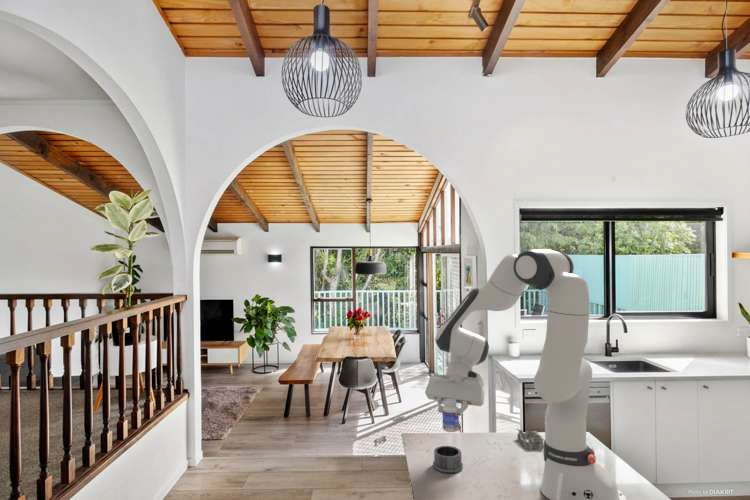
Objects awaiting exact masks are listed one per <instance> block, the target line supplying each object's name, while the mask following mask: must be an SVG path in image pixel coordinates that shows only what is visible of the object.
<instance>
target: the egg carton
mask: <svg viewBox="0 0 750 500" xmlns="http://www.w3.org/2000/svg"><path fill="white" fill-rule="evenodd" d="M516 430H517V431H518V433H517V437H516V438H517V441H520V444H522V445H524V448H525V449H528V450H533V449H538V450H542V449H543V444H544V440H545V439H544V438H543V437H542V435H541V434H539V432H538V430H530V431H527V430H526V431H525V432H523V430H522V429H518V428H516Z"/></svg>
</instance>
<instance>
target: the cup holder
mask: <svg viewBox="0 0 750 500" xmlns="http://www.w3.org/2000/svg"><path fill="white" fill-rule="evenodd" d="M461 451H462V450H461V449H460V448H457V447H456V446H451V445H441V446H438V447H436V448H435V449H434V450H433V457H434V458H433V459H434V460H433V461H432V467H433V469H434V470H435V471H436V472H439V473H441V474H447V475H454V474H458V473H460V472H462V471H463V469H464V467H463V462H462V452H461Z"/></svg>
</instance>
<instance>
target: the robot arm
mask: <svg viewBox="0 0 750 500" xmlns="http://www.w3.org/2000/svg"><path fill="white" fill-rule="evenodd" d="M528 285H529V286H531V287H533V288H535V289H538V290H539V291H542V290H543V291H544V290H545V291H546V292H547V296H548V303H547V304H548V305H547V318H546V320H547V321H546V333H545V340H544V343H543V349H542V351H541V356H540V360H539V365H538V369H537V371H536V374H535V375H534V377H533V378H534V379H533V386H534V389H535V392H536V393H537V395H538V396H539V397H540V398H542V399H543V400H544V401H546V402H547V407H546V409H545V413H544V436H545V437H544V438H545V439H544V440H543V448H542V449H543V460H544V468H543V476H542V479H541V484H540V487H539V488H540V489H539V490H540V492H541V493H542V494H543V495H544V497H546V498H547V499H549V500H627V497H626V495H625V494H624V493H623V492H622V491H621V490H619V489H618V486H617V482H616V480H615V478H614V476H613V475H612V473H610V471H609V470H606V469H605V468H604V467H603V466H602V465H601V464H599V463H598V462H597V457H596V455H595V451H594V447H593V446H591V447H590V446H589V445H587V415H588V413H587V412H588V407H589V401H590V400H589V399H590V390H591V381H592V377H593V369H592V367H591V365H590V362H588V360H586V359H585V358H584V353H585V349H586V346H587V344H588V340H589V339H588V338H589V322H590V321H589V319H590V296H589V295H590V294H589V286H588V283H587V281H586V280H585V278H584V277H582V276H580V275H578V274H575V273H574V263H573V260H572V258H571V257H570V256H569V255H568V254H567V253H565V252H563V251H560V250H553V249H549V248H537V249H536V248H533V249H532V248H530V249H526V250H524V251H522V252H520V253H519V254H515V253H511V254H507V255H506V256H504V257H503V259H502V260H501V261H500V262H499V263H498V264H497V266H496V268H495V269H494V270H493V272H492V274H491V275H490V277H489V279H488V281H487V282H486V283H485V284H483V285H482V286H480V287H477V288H473V289H471V290H470V291H469V292H468V294H467V295H466V296H465V297H464V298H463V300H462V301H461V302H460V303H459V304H458V306H457V307H456V308H455V310H453V313H451V315H450V316H449V318H448V319H447V320H446V321H445V322H444V323H442V325H441V326H440V328H439V329H438V330H437V332H436V335H435V339H434V340H435V343H436V345H437V347H438V349H439V350H440V351H442V352H446V353H450V361H449V363H448V365H447V368H446V372H445V374H438V373H435V374H433V375H431V376H429V379H428V383H427V385H426V389H425V391H424V393H425V396H426V397H427V399H428V400H431V401H432V400H433V401H436V402H437V405H438V406H437V412H438V413H442V408H443V406H444V405H442V404H443V403H444V400H445V399H455V400H456V404H460V405H462V406H461V407H458V411H457V414H458V415H459V417H460V416H461V417H463V415H464V412H465V411H466V410H467V409H468V408H469V406H476V407H482V406H483V405H484V403H485V389H484V384H485V383H484V380H483V377H482V375H481V374H480V373H479V372H476V371H473V367H474V366H479V365H480V364H482V363H484V362H485V361H486V359H487V357H488V354H489V349H490V345H489V343H488V340H487V339H486V337H484V336H482V335H480V334H477V333H475V332H472V331H470V330H467V329H465V328H462V327H461V325H462V324H463V323H464V321H465V320H466V319H467V318H468V317H469V315H470V314H472V313H473V312H474V313H475V312H477V311H491V312H493V311H494V312H502V311H506V310H509V309H511V308H513V307H514V305H515V304H516V303H517V302H518V300H519V298H520V297H521V295H522V293H523V291H524V290H525V288H526V286H528Z"/></svg>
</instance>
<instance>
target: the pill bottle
mask: <svg viewBox="0 0 750 500" xmlns="http://www.w3.org/2000/svg"><path fill="white" fill-rule="evenodd" d="M442 406H443V408H442V430H443V431H445V432H448V433H456V432H458V431H459V430H460V415H458V414H457V411H458V408H459V407H458V406H457V403H456V400H455V399H445V400H444V401H443V405H442Z"/></svg>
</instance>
